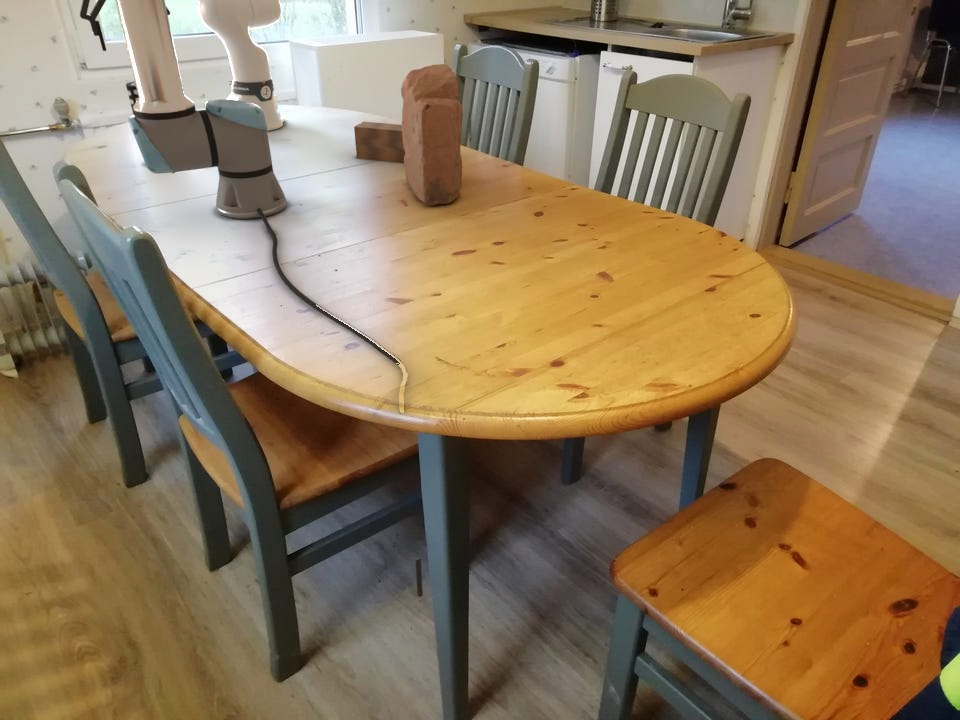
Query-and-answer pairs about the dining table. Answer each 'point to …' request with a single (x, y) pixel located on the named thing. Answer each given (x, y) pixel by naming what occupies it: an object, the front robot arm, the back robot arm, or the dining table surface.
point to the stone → (432, 134)
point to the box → (379, 141)
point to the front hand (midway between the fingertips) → (134, 48)
